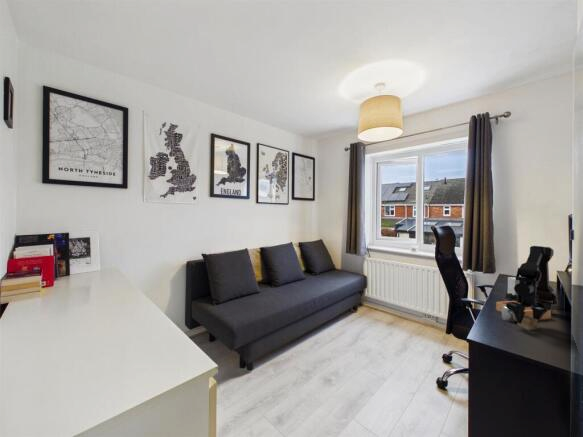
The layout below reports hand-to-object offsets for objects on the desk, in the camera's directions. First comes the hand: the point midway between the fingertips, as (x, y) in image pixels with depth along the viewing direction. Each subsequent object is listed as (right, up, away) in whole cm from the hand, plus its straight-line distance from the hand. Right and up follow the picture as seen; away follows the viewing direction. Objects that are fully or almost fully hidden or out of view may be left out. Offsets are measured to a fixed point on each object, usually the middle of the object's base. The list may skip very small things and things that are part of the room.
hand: (527, 322), depth 121 cm
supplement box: (+36, -2, +45) cm, 58 cm away
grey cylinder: (-2, -2, +8) cm, 9 cm away
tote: (+12, -2, +15) cm, 20 cm away
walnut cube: (0, -2, 0) cm, 2 cm away
